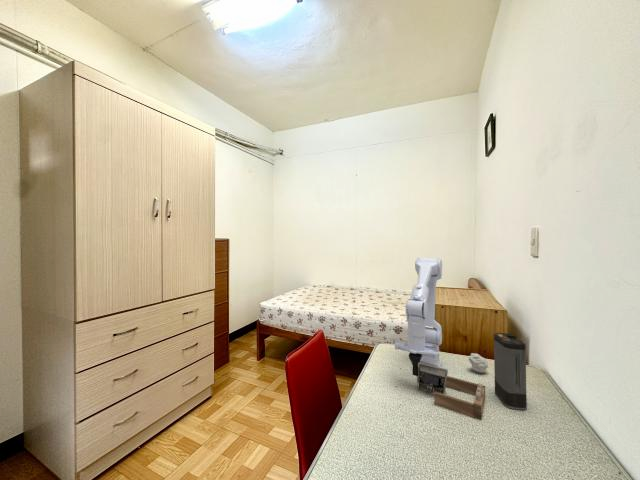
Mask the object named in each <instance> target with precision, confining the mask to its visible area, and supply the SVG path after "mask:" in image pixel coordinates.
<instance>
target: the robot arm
mask: <svg viewBox="0 0 640 480" xmlns="http://www.w3.org/2000/svg"><path fill="white" fill-rule="evenodd" d="M414 269H415V272H416V273H417V275H418V276H417V283H416V284H414V285H413V287H412V290H411V294H410V298H409V300H406V303H405V315H406V321H407V343H404V342H397V341H396V342H395V343H394V349H395V350H397V351H398V350H400V351H404V352H408V353H409V354H408V358H409V360H410V362H411V365H412V371H411V373H412V376H416V377H417V376H418V362H419V361H422V362H426V363H430V364H434V365H438V366H442V361H440V347H439V346H441V344H442V342H443V332H442V330H443V329H442V325H441V324H440V323H439V322H437V320H435V317H436V293H437V292H436V290H437V282H438V281H439V280H441V279H442V276H443V261H442V259H441V258H440V257H439V258H430V257H429V258H428V257H427V258H424V257H417V258H416V259H415V262H414Z"/></svg>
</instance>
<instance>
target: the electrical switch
mask: <svg viewBox="0 0 640 480" xmlns="http://www.w3.org/2000/svg"><path fill="white" fill-rule="evenodd" d="M448 373H449V369H448V368H447V367H446V366H442V365H440V366H438V365H434V364H430V363H426V362H422V361H419V362H418V376H416V380H415V382H416V383H417V384H418V386H417V387H418V389H419V390H423V391H426V392H429V393H432V394H434V392H438V393H441V394H444V392H445V391H446V388H447V387H446V379H447V376H448Z"/></svg>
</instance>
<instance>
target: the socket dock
mask: <svg viewBox="0 0 640 480" xmlns="http://www.w3.org/2000/svg"><path fill="white" fill-rule="evenodd" d="M446 388H449V389H453V390H455V391H459V392H462V393H466V394H469V395H472V396H474V400H473V402H470V401H468V400H463V399H460V398H457V397H453V396H451V395H447V394H444V393H443V394H441V393H438V392H434V393H433V395H434V397H433V401H434V402H433V405H435V406H438V407H441V408H445V409H447V410H450V411H454V412H456V413H459V414H462V415H465V416H467V417H471V418H474V419H476V420H479V421H482V418H483V413H484V407H485V400H486V386H485V385H484V384H483V383H481V382H479V383H475V382H471V381H468V380H465V379H461V378H457V377H453V376H449V375H447V379H446Z"/></svg>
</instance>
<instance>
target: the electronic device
mask: <svg viewBox="0 0 640 480" xmlns="http://www.w3.org/2000/svg"><path fill="white" fill-rule="evenodd" d="M526 345H527V344H526V343H525V341H523V340H517V336H515V334H512V333H505V332H494V334H493V354H494V355H493V356H494V359H493V361H494V366H493V368H494V394H495V395H496V397H497V398H498V399H499V400H500V401H501V402H502V403H503V405H504V406H506V407H507V408H508V409H513V410H522V411H526V410H527V409H528V408H527V406H528V405H527V404H528V403H527V401H528V399H527V361H526V360H527V357H526V356H527V352H526V351H527V350H526V349H527V348H526Z"/></svg>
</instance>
